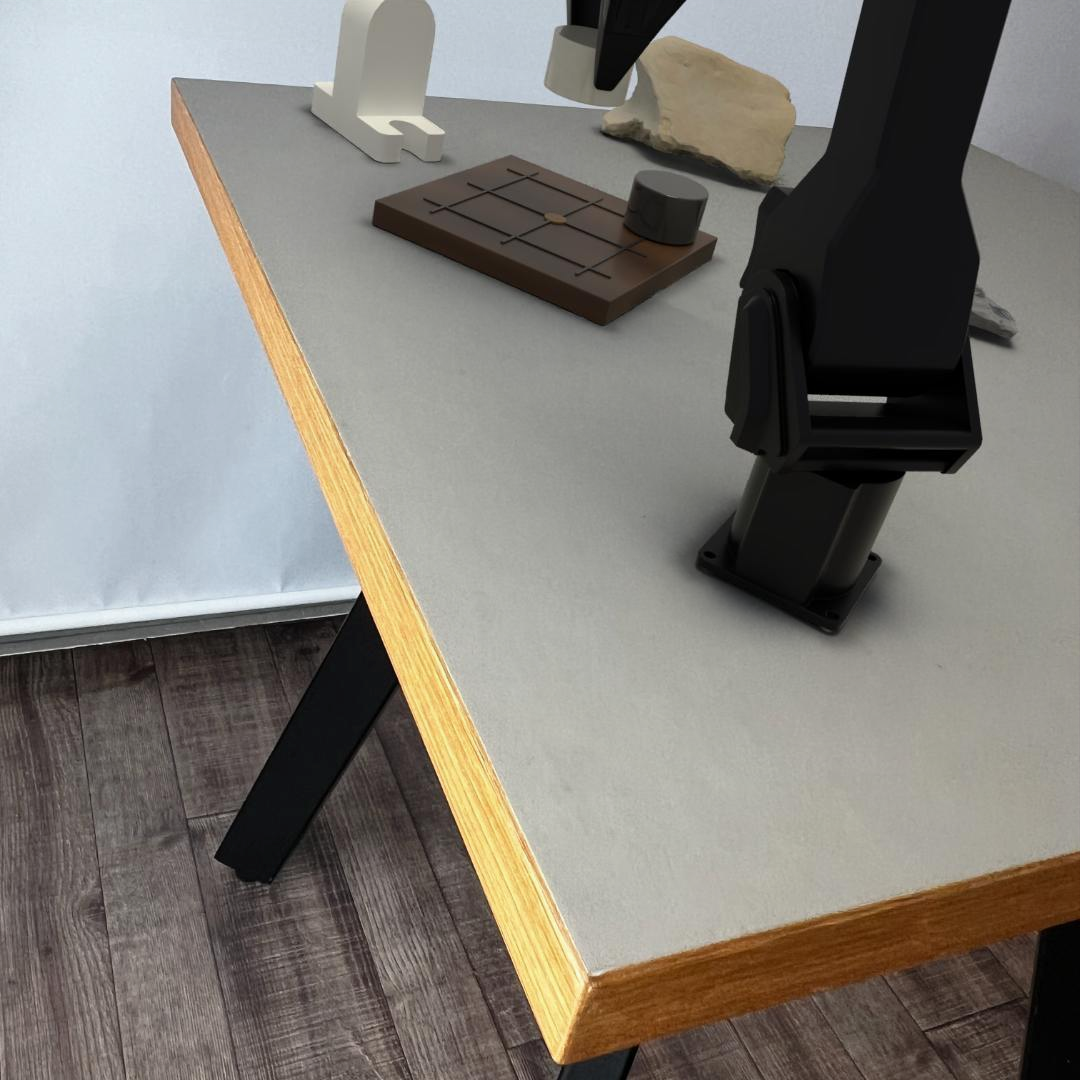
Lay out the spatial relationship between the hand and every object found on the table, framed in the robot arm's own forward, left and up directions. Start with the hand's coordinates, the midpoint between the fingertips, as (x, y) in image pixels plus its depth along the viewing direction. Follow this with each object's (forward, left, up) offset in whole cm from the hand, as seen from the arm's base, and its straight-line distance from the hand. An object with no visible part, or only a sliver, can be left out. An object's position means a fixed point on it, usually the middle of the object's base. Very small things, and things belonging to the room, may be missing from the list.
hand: (589, 75), depth 71 cm
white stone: (0, 0, -1) cm, 1 cm away
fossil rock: (+21, -17, -11) cm, 29 cm away
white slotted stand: (+7, +18, -11) cm, 22 cm away
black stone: (+6, -4, -9) cm, 12 cm away
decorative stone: (+28, +2, -11) cm, 30 cm away
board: (+1, +1, -11) cm, 11 cm away
